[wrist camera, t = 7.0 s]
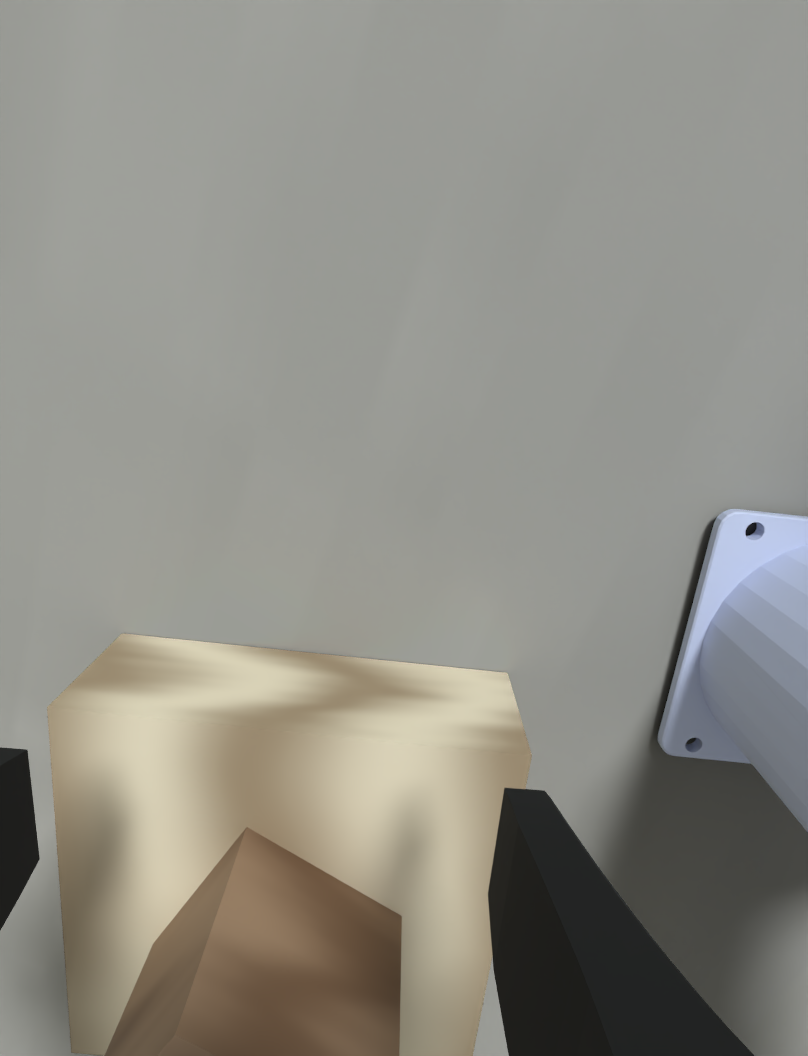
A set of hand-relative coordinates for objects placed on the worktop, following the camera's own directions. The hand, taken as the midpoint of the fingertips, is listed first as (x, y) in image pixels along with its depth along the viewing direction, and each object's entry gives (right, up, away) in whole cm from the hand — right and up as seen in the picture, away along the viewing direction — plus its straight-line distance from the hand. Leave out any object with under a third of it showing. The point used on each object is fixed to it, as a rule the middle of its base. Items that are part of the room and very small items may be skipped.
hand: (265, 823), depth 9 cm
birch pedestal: (-1, -5, +11) cm, 13 cm away
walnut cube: (-1, -7, +8) cm, 10 cm away
